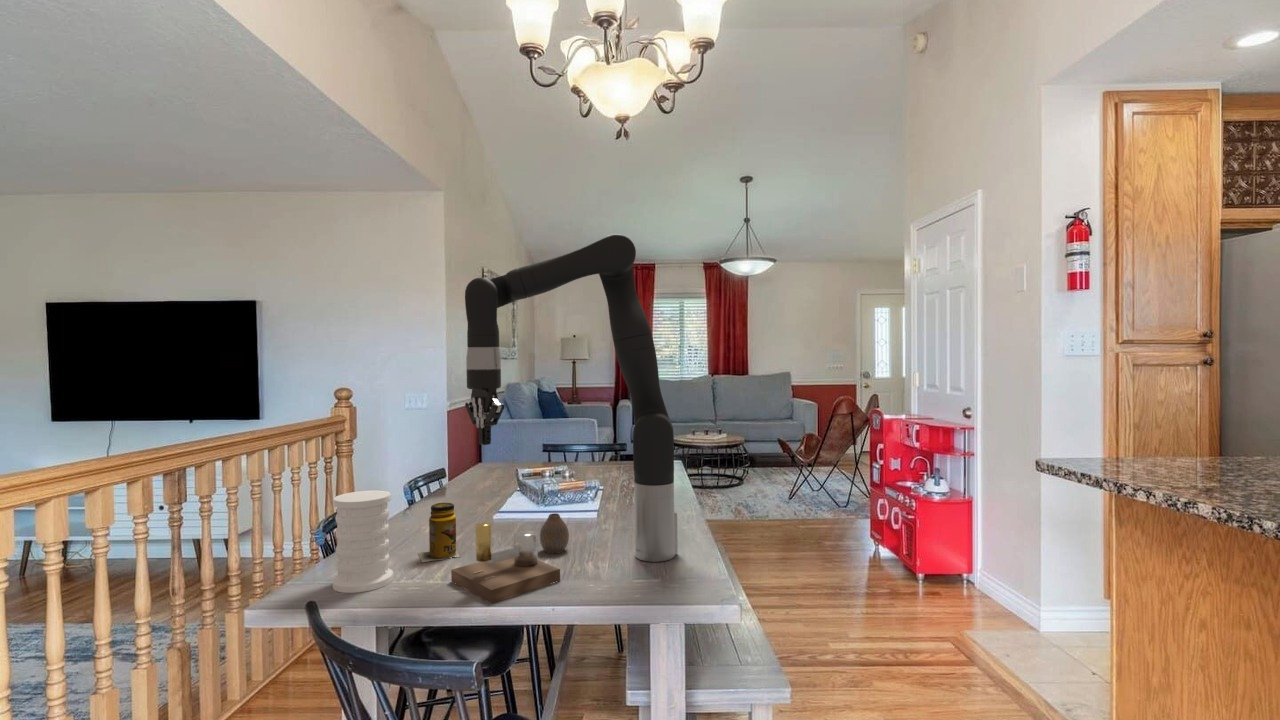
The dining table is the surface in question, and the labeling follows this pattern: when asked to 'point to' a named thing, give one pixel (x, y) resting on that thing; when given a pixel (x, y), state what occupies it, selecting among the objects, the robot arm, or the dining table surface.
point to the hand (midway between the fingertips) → (484, 444)
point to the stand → (503, 578)
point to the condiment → (441, 533)
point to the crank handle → (520, 551)
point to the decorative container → (362, 541)
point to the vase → (554, 534)
